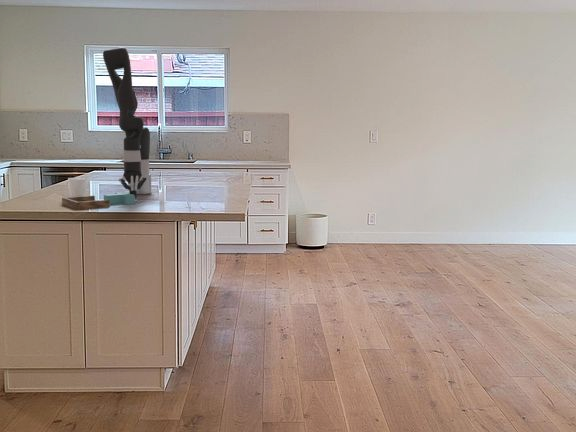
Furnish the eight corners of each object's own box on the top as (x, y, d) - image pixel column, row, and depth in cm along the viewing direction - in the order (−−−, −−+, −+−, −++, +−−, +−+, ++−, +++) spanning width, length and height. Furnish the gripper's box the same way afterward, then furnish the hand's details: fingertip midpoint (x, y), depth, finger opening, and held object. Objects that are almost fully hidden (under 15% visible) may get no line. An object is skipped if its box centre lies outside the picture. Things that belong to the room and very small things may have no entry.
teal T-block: (123, 200, 283) (122, 192, 282) (134, 203, 274) (134, 195, 273) (100, 202, 276) (99, 193, 275) (111, 205, 267) (111, 196, 266)
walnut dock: (93, 202, 277) (93, 195, 276) (109, 206, 264) (109, 200, 263) (62, 204, 268) (61, 197, 268) (76, 209, 255) (76, 202, 254)
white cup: (90, 199, 285) (89, 178, 283) (79, 201, 278) (78, 179, 276) (76, 198, 288) (75, 177, 286) (64, 200, 280) (64, 178, 279)
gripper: (141, 159, 283) (142, 196, 286) (114, 160, 275) (115, 198, 278) (149, 160, 278) (150, 198, 280) (122, 161, 269) (123, 200, 272)
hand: (133, 198), depth 279 cm, fingers closed
